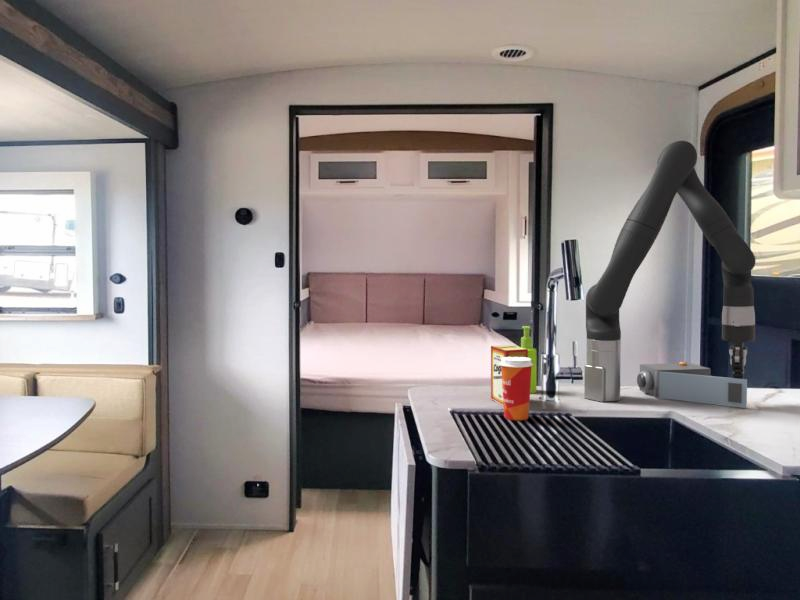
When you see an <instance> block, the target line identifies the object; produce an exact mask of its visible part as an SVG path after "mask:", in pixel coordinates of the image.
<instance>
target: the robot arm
mask: <svg viewBox="0 0 800 600" xmlns="http://www.w3.org/2000/svg"><path fill="white" fill-rule="evenodd" d="M697 160H698V152H697V149H696V147H695V146H694V144H692V143H691V142H689V141H686V140H677V141H674V142H672V143H669V144H668V145H667V146H665V147H664V148H663V150H662V151H661V152H660V154H659V157H658V159H657V162H656V168H655V169H654V172H653V175H652V177H651V179H650V181H649V183H648V185H647V187H646V189H645V190H644V192H643V193H642V195H641V196H640V198H639V199H638V200H637V202H636V203H635V205H634V206H633V208H632V210H631V211H630V214H629V215H628V216H627V217H626V220H625V221H624V224H623V226H622V228H621V230H620V232H619V234H618V236H617V239H616V242H615V243H614V248H613V251H612V254H611V256H610V260H609V262H608V265H607V266H606V268H605V270H604V271H603V273H602V275H601V277H600V278H599V280H598V281H597V283H595V284H594V285H592V286H591V287H589V289H588V290H587V293H586V296H585V330H586V350H585V351H586V355H585V357H586V363H585V365H584V395H583V397H584V399H588V400H592V401H598V402H603V403H605V402H615V401H620V400H621V357H622V356H621V352H622V351H621V348H622V346H621V345H622V342H621V341H622V340H621V339H622V331H621V323H620V309H621V307H622V305H623V302H624V300H625V297H626V294H627V292H628V289H629V287H630V284H631V283H632V281H633V278H634V276H635V273H636V272H638V271H637V270H638V269H639V267H640V266H641V265H642V264H643V262H644V260H645V259H646V257H647V255H648V253H649V252H650V250H651V248H652V246H653V245H654V244H655V242H656V240H657V238H658V236H659V233H660V231H661V229H662V227H663V225H664V223H665V221H666V218H667V216H668V214H669V211H670V208H671V206H672V204H673V201H674V200H675V199H674V198H675V197H676V195H677V194H678V195H679V196H680V197H679V198H681V199H682V201H683V202H684V204H685V205H686V207H687V209H688V210H689V212H690V213H691V215H692V217H693V219H694V220H695V222H696V223H697V225H698V227H699V228H700V230H701V232H702V233H703V235H704V237H705V238H706V240H707V241H708V242H709V244H711V246H712V247H714V249H715V251H716V252H717V254H718V256H719V257H720V259H721V274H722V275H721V276H722V283H723V291H722V302H723V303H722V312H721V340H723V341H725V342H731V343H732V346H729V347H728V349H729V350H728V353H729V355H730V359H729V361H730V362H729V363H730V365H731V372H732V375H733V376H732V378H738V379H744V373H745V365H746V363H747V355H748V347H746V346H744V344H745V343H747V342H754V341H755V339H756V337H755V336H756V313H755V306H754V305H755V301H754V300H755V295H754V293H755V291H754V287H753V285H752V271H753V269H754V267H755V265H756V257H755V254H754V252H753V251H752V249H751V248H750V246H749V244H747V242H746V241H745V240H744V239H743V237H742V236H741V235H740V234H739V232H738V231H737V229H736V226H735V225H734V224H733V222H732V220H731V219H730V217H729V215H728V214H727V213H726V211H725V209H724V208H723V207H722V205H720V203H719V202H718V201H717V200H716V199H715V198H714V196H712V195H711V194H710V192H709V191H708V190H707V188H706V187H705V186H704V185H703V183H702V181H701V180H700V178H699V176H698V173H697V171H696V169H695V168H696V167H695V166H696V164H697Z"/></svg>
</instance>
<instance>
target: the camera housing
mask: <svg viewBox="0 0 800 600" xmlns="http://www.w3.org/2000/svg"><path fill="white" fill-rule="evenodd" d="M711 370H712V369H711V368H710V367H706V366H702V365H699V364H695V363H691V362H686V361H679V362H678V363H677V362H676V363H673V362H672V363H648V364H647V363H644V364H643V363H642V364H639V372H638V374H637V377H636V383H637V386H638V388H639V391H640V392H642V393H645V394H647V393H648V395H650V396H652V397H655V371H660V372H672V373H683V374H694V375H705V376H712V374H711V373H712V372H711Z"/></svg>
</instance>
